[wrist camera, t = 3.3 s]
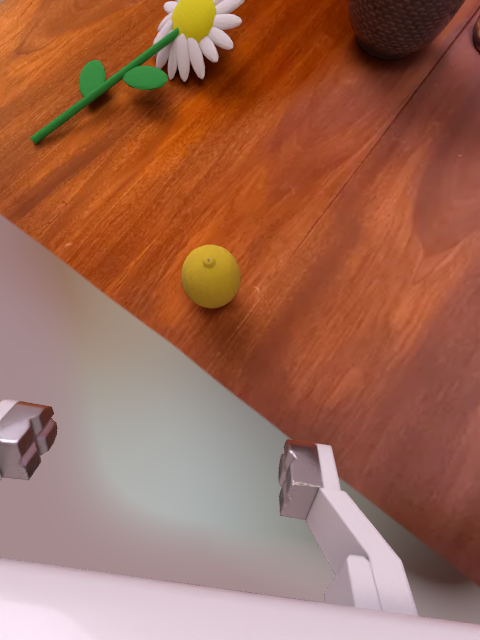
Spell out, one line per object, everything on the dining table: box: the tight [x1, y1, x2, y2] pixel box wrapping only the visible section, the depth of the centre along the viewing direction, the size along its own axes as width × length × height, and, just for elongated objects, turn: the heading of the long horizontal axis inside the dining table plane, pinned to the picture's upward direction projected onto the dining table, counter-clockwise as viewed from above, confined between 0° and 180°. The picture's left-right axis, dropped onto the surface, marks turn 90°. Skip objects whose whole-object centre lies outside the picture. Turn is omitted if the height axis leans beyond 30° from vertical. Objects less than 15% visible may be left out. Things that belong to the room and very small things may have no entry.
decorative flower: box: [30, 0, 244, 144], centre depth 39 cm, size 13×5×30 cm
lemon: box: [181, 245, 241, 308], centre depth 31 cm, size 6×6×8 cm
